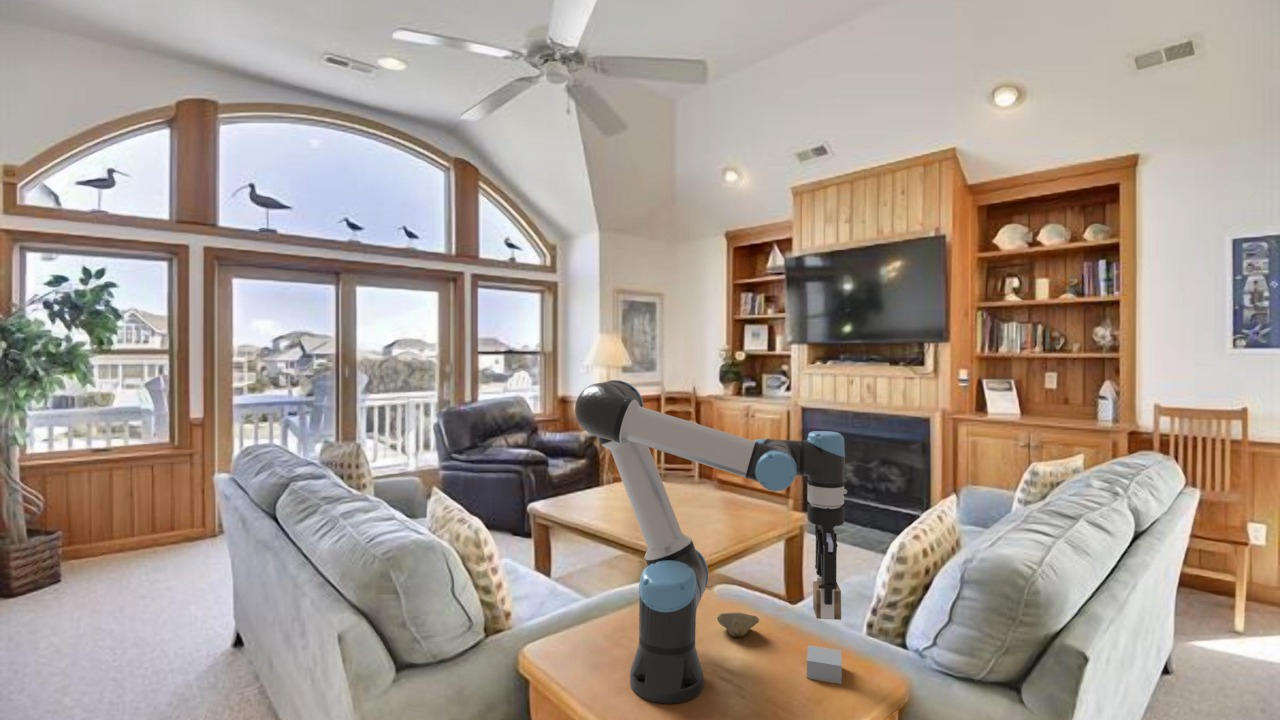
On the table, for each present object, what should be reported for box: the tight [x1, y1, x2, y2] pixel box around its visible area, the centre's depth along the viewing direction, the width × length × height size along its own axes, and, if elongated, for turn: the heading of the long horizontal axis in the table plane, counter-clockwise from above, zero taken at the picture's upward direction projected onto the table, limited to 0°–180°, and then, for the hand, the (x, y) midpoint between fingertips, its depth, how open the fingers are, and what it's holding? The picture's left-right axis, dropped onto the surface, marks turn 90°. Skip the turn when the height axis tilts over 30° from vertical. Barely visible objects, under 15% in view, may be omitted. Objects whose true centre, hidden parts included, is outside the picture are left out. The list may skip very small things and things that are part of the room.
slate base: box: [806, 644, 843, 685], centre depth 128 cm, size 7×7×4 cm
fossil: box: [717, 611, 760, 638], centre depth 144 cm, size 9×4×10 cm
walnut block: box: [812, 580, 842, 621], centre depth 128 cm, size 5×5×6 cm
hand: (825, 612), depth 128 cm, fingers closed on walnut block, 5 cm apart
